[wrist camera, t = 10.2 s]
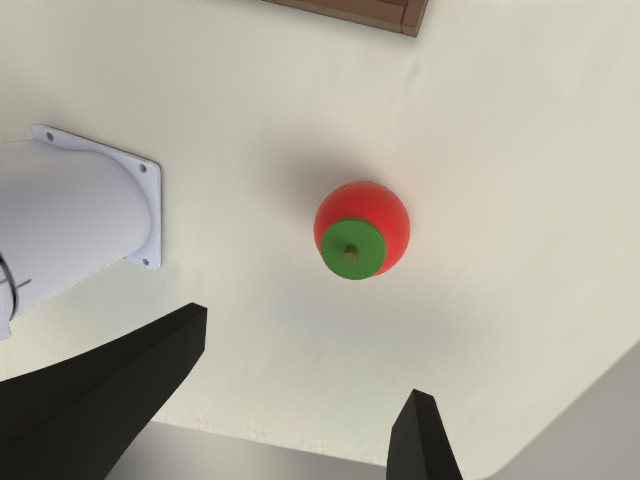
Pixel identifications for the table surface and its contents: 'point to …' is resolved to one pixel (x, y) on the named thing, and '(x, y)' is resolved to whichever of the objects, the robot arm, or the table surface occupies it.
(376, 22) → the tray
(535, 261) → the table surface
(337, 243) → the tomato
